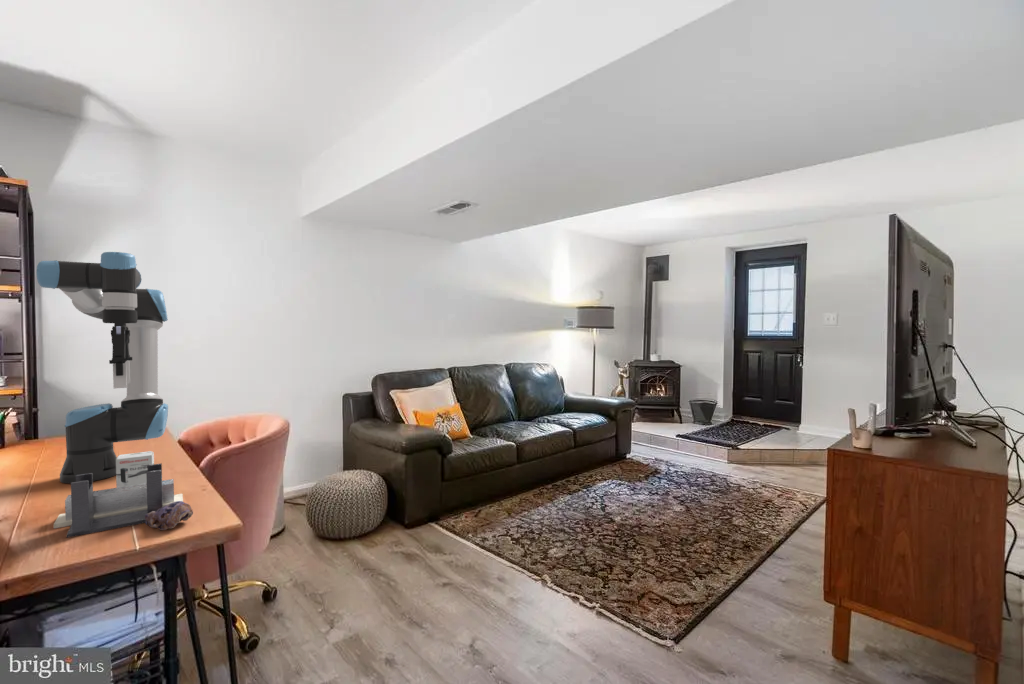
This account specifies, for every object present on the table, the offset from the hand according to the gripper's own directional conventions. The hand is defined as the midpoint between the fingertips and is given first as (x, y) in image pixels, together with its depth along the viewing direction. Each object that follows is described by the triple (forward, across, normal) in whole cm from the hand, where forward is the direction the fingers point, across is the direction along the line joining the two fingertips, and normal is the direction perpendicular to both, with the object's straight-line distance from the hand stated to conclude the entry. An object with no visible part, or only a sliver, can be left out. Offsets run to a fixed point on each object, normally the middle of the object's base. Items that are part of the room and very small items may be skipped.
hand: (122, 385), depth 133 cm
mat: (+33, +8, 0) cm, 34 cm away
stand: (+33, +17, 0) cm, 37 cm away
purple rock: (+33, +26, +10) cm, 43 cm away
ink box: (+33, -7, +2) cm, 34 cm away
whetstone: (+32, +8, 0) cm, 33 cm away
